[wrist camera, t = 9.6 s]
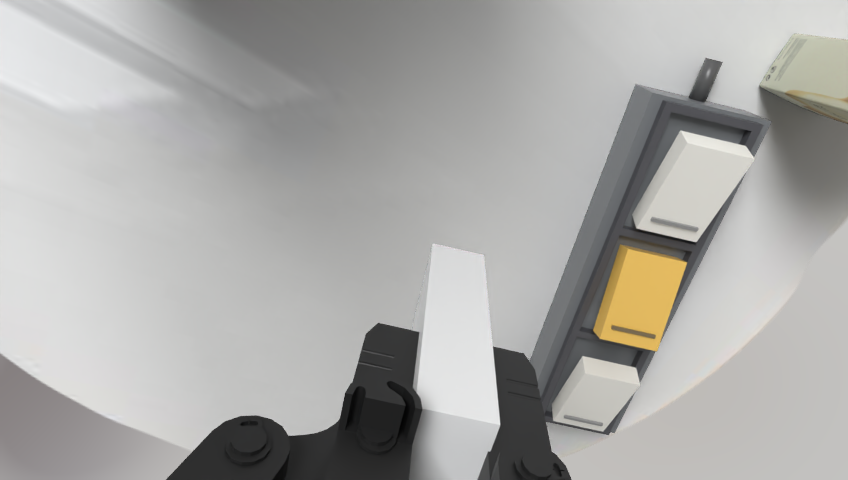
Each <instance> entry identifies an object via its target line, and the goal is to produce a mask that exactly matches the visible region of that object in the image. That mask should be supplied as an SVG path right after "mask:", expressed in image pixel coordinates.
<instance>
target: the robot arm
mask: <svg viewBox="0 0 848 480" xmlns="http://www.w3.org/2000/svg"><path fill="white" fill-rule="evenodd" d="M540 401H541V397H540V392H539V389H538V382H537V377H536V372H535V369H534V367H533V366H532V364H531V363H530V362H529V360H528V359H527V357H526V356H525V355H524V353H519V352H515V351H510V350H506V349H501V348H496V347H493V343H492V332H491V322H490V311H489V301H488V290H487V280H486V269H485V259H484V255H482V254H478V253H474V252H469V251H465V250H460V249H456V248H452V247H447V246H443V245H438V244H434V243H433V244H432V248H431V252H430V256H429V260H428V264H427V268H426V272H425V276H424V280H423V284H422V288H421V292H420V296H419V299H418V303H417V307H416V311H415V315H414V319H413V324H412V330H408V329H403V328H399V327H394V326H390V325H385V324H380V323H378V324H377V325H375V326H374V327H373V328H372V329H371V330H370V331H369V332H368V333H367V334H366V336H365V340H364V343H363V347H362V351H361V354H360V358H359V361H358V365H357V369H356V372H355V376H354V379H353V383H351V384H350V386H349V388H348V389H347V391H346V393H345V397H344V402H343V407H342V412H341V417H340V419H339V421H338V422H337V423H336V424H334V425H333V426H331V427H330V428H328V429H327V430H324V431H321V432H319V433H315V434H308V435H297V436H288V435H287V433H286V432H285V430H284V428H283V427H282V426H281V425H279V424H278V423H276V422H274V421H273V420H271V419H268V418H264V417H260V416H240V417H237V418H234V419H231V420H228V421H225V422H224V423H222V424H221V425H220V426H218V427H217V428H216V429H214V430H213V431H212V432H211V433H210V434H209V435H208V436H207V437H206V438H205V439H204V440H203V441H202V442H201V443H200V445H199V446H198V447H197V448H196V449H195V450H194V451H193V452H192V453H191V454H190V455H189V456H188V457H187V458H186V459H185V460H184V461H183V463H181V465H180V466H179V467H178V468H177V469H176V470H175V471H174V472H173V473H172V474H171V475H170V476H169V477H168V478H167V479H166V480H571V477H570V475H569V473H568V470H567V468H566V466H565V465H564V464H563V462H562V461H561V460H560V459H559V458H558V457H557V455H555V454H554V453H553V452H552V451H551V446H550V441H549V436H548V431H547V426H546V421H545V416H544V411H543V406H542V402H540Z"/></svg>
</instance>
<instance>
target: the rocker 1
mask: <svg viewBox="0 0 848 480" xmlns="http://www.w3.org/2000/svg"><path fill="white" fill-rule="evenodd" d="M639 386H640V382H639V378H638V373H637V369H636V368H635V367H630V366H626V365H621V364H617V363H612V362H608V361H603V360H599V359H594V358H590V357H585V356H582V358H581V359H580V361H579V362H578V364H577V365H576V367H575V369H574V370H573V372H572V373H571V375H570V376H569V378H568V379H567V381H566V383H565V384H564V386H563V387H562V389H561V390H560V392H559V394H558V395H557V397H556V398H555V400H554V401H553V403H552V413H553V421H556V422H560V423H565V424H569V425H574V426H579V427H583V428H588V429H593V430H597V431H602V432H603V431H604V430H605V429H606V428H607V426H608V425H609V424H610V423H611V421H612V420H613V419H614V418H615V416H616V415H617V414H618V413H619V411H620V410H621V409H622V408H623V406H624V405H625V404H626V403H627V401H628V400H629V399H630V398H631V396H632V395H633V394H634V393H635V391H636V390H637V389H638V388H639Z"/></svg>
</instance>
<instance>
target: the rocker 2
mask: <svg viewBox="0 0 848 480" xmlns="http://www.w3.org/2000/svg"><path fill="white" fill-rule="evenodd" d="M754 160H755V158H754V157H753V156H752V154H751V153H750V151H749V150H748V148H747V147H746V146H744V145H739V144H735V143H731V142H727V141H723V140H718V139H714V138H710V137H706V136H702V135H698V134H693V133H689V132H685V131H681V130H680V132H679V134H678V135H677V137H676V139H675V141H674V142H673V144H672V146H671V148H670V149H669V151H668V153H667V155H666V156H665V158H664V160H663V162H662V163H661V165H660V167H659V168H658V170H657V172H656V174H655V175H654V177H653V179H652V181H651V182H650V184H649V186H648V188H647V189H646V191H645V193H644V195H643V196H642V198H641V200H640V201H639V203H638V205H637V207H636V208H635V210H634V212H633V214H632V216H633V219H634V222H635V226H636V229H641V230H645V231H649V232H654V233H658V234H662V235H667V236H671V237H675V238H680V239H684V240H688V241H693V242H697V241H698V239H699V238H700V236H701V235H702V234H703V232H704V231H705V229H706V228H707V227H708V225H709V224H710V222H711V221H712V220H713V218H714V217H715V215H716V214H717V212H718V211H719V210H720V208H721V207H722V205H723V204H724V203H725V201H726V200H727V198H728V197H729V195H730V194H731V193H732V191H733V190H734V188H735V187H736V186H737V184H738V183H739V181H740V180H741V179H742V177H743V176H744V174H745V173H746V171H747V170H748V169H749V167H750V166H751V164H752V163H753V162H754Z"/></svg>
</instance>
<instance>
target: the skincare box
mask: <svg viewBox="0 0 848 480" xmlns="http://www.w3.org/2000/svg"><path fill="white" fill-rule="evenodd" d="M760 87H761V88H763V89H765V90H767V91H769V92H771V93H773V94H775V95H777V96H779V97H781V98H783V99H785V100H787V101H789V102H791V103H793V104H796V105H798V106H800V107H803V108H805V109H808V110H810V111H812V112H815V113H817V114H820V115H822V116H825V117H828V118H831V119H834V120H837V121H840V122H844V123H847V124H848V40H846V39H837V38H828V37H820V36H812V35H803V34H793V35H792V37H791V38H790V40H789V41H788V42H787V44H786V45H785V47H784V48H783V50H782V51H781V53H780V54H779V55H778V57H777V58H776V60H775V61H774V63H773V64H772V66H771V67H770V69H769V71H768V72H767V74H766V75H765V77H764V79H763V80H762V82H761V83H760Z"/></svg>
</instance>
